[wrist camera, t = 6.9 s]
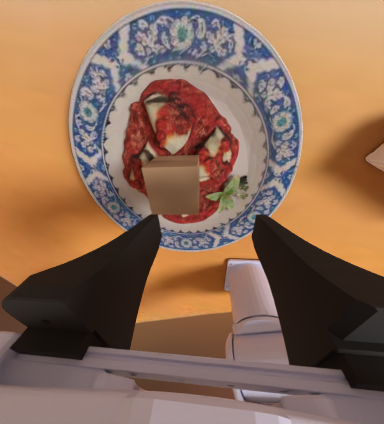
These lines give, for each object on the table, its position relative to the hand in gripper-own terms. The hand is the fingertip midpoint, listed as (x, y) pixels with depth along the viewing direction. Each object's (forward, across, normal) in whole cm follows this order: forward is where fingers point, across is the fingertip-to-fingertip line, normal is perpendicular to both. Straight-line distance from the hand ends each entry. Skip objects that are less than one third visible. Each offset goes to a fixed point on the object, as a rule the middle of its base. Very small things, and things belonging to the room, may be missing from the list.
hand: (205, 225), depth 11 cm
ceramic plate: (+10, +3, -1) cm, 11 cm away
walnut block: (+7, +3, -2) cm, 8 cm away
